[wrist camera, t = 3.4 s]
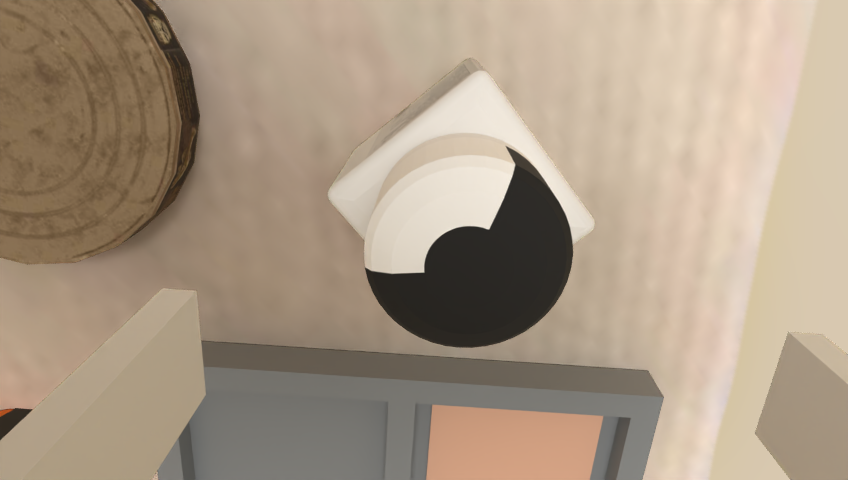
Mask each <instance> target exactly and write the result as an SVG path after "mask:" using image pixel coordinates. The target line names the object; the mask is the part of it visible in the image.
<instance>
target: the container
mask: <svg viewBox="0 0 848 480" xmlns="http://www.w3.org/2000/svg"><path fill="white" fill-rule="evenodd" d="M328 199H329V201H330V202H331V203H332V204H333V206H334V207H335V208H336V209H337V210H338V211H339V212H340V213H341V215H342V216H343V217H344V218H345V219H346V220H347V221H348V223H349V224H350V225H351V226H352V227H353V228H354V229H355V231H356V232H357V233H358V234H359V235H360V236H361V237H362V238H363V240H364V241H365V244H364V262H365V270H366V274H367V278H368V281H369V284H370V286H371V289H372V291H373V293H374V295H375V297H376V298H377V300H378V302H379V304H380V305H381V306H382V307H383V309H384V310H385V311H386V312H387V314H388V315H389V316H390V317H391V318H392V319H393V320H394V321H396V322H397V323H398V324H399V325H400V326H402V327H403V328H405V329H406V330H407V331H409V332H411V333H413V334H414V335H416V336H418V337H420V338H422V339H425V340H428V341H430V342H433V343H437V344H441V345H445V346H452V347H470V348H473V347H481V346H488V345H492V344H496V343H500V342H503V341H506V340H508V339H511V338H513V337H515V336H517V335H519V334H521V333H523V332H525V331H526V330H528V329H529V328H531V327H532V326H533V325H535V324H536V323H537V322H538V321H539V320H541V319H542V318H543V317H544V316H545V315H546V314H547V313H548V312H549V310H550V309H551V308H552V307H553V306H554V304H555V303H556V301H557V300H558V298H559V297H560V295H561V294H562V291H563V289H564V287H565V285H566V283H567V280H568V277H569V273H570V270H571V265H572V257H573V244H574V243H576V242H577V241H579V240H580V239H582V238H583V237H585V236H586V235H588V234H589V233H591V231H592V230H593V229H594V226H595V222H594V219H593V217H592V216H591V214H590V213H589V212H588V210H587V209H586V207H585V206H584V205H583V203H582V202H581V200H580V199H579V198H578V196H577V195H576V194H575V192H574V191H573V189H572V188H571V187H570V185H569V184H568V182H567V181H566V180H565V178H564V177H563V176H562V174H561V173H560V171H559V170H558V169H557V167H556V166H555V164H554V163H553V162H552V160H551V159H550V158H549V156H548V155H547V153H546V152H545V151H544V149H543V148H542V146H541V145H540V144H539V142H538V141H537V140H536V138H535V137H534V135H533V134H532V133H531V131H530V130H529V128H528V127H527V126H526V124H525V123H524V122H523V120H522V119H521V117H520V116H519V115H518V113H517V112H516V110H515V109H514V108H513V106H512V105H511V104H510V102H509V101H508V99H507V98H506V97H505V95H504V94H503V92H502V91H501V90H500V88H499V87H498V85H497V84H496V83H495V81H494V80H493V79H492V77H491V76H490V74H489V73H488V72H487V71H486V70H485V69H484V68H483V67H482V66H481V65H480V64H479V63H478V62H477V61H476V60H475V59H472V58H469V59H466V60H465V61H463V62H462V63H461V64H460V65H458V66H457V67H456V68H455V69H454V70H452V71H451V72H450V73H449V74H447V75H446V76H445V77H444V78H442V79H441V80H440V81H439V82H437V83H436V84H435V85H434V86H432V87H431V88H430V89H429V90H428V91H426V92H425V93H424V94H423V95H421V96H420V97H419V98H418V99H416V100H415V101H414V102H413V103H411V104H410V105H409V106H408V107H407V108H405V109H404V110H403V111H402V112H400V113H399V114H398V115H397V116H395V117H394V118H393V119H392V120H390V121H389V122H388V123H387V124H385V125H384V126H383V127H382V128H381V129H379V130H378V131H377V132H376V133H374V134H373V135H372V136H371V137H369V138H368V139H367V140H366V141H364V142H363V143H362V144H361V145H359V146H358V147H357V148H356V149H355V150H354V151H353V153H352V154H351V156H350V157H349V159H348V160H347V162H346V164H345V165H344V167H343V168H342V170H341V171H340V173H339V174H338V176H337V178H336V179H335V181H334V182H333V184H332V185H331V187H330V188H329V190H328Z"/></svg>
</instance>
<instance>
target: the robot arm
mask: <svg viewBox="0 0 848 480" xmlns="http://www.w3.org/2000/svg"><path fill="white" fill-rule="evenodd" d="M205 395H206V390H205V379H204V367H203V356H202V344H201V333H200V321H199V310H198V298H197V291H195V290H180V289H166V288H162V289H161V290H160V291H159V292H158V293H157V294H156V295H155V296H154V297H153V298H152V299H151V300H149V301H148V302H147V303H146V304H145V305H144V306H143V307H142V308H141V309H140V310H139V311H138V312H137V313H136V314H135V315H133V316H132V317H131V318H130V319H129V320H128V321H127V322H126V323H125V324H124V325H123V326H122V327H121V328H120V329H119V330H117V331H116V332H115V333H114V334H113V335H112V336H111V337H110V338H109V339H108V340H107V341H106V342H105V343H104V344H103V345H101V346H100V347H99V348H98V349H97V350H96V351H95V352H94V353H93V354H92V355H91V356H90V357H89V358H88V359H87V360H85V361H84V362H83V363H82V364H81V365H80V366H79V367H78V368H77V369H76V370H75V371H74V372H73V373H72V374H71V375H69V376H68V377H67V378H66V379H65V380H64V381H63V382H62V383H61V384H60V385H59V386H58V387H57V388H56V389H55V390H53V391H52V392H51V393H50V394H49V395H48V396H47V397H46V398H45V399H44V400H43V401H42V402H41V403H40V404H39V405H37V406H36V407H35V408H34V409H19V408H15V409H14V410H12V411H10V412H8V413H6V414H4V415H3V416H1V417H0V480H152V478H153V476H154V475H155V473H156V472H157V470H158V469H159V467H160V466H161V464H162V462H163V461H164V459H165V458H166V456H167V455H168V453H169V451H170V450H171V448H172V447H173V445H174V444H175V442H176V441H177V439H178V437H179V436H180V434H181V433H182V431H183V430H184V428H185V426H186V425H187V423H188V422H189V420H190V419H191V417H192V416H193V414H194V412H195V411H196V409H197V408H198V406H199V405H200V403H201V401H202V400H203V398H204V397H205ZM755 434H756V436H757V437H758V438H759V439H760V441H761V442H762V443H763V445H764V446H765V447H766V449H767V450H768V451H769V452H770V454H771V455H772V456H773V458H774V459H775V460H776V461H777V463H778V464H779V465H780V467H781V468H782V469H783V470H784V472H785V473H786V474H787V476H788V477H789V478H790V480H848V354H847V353H846V352H844V351H843V350H842V349H841V348H839V347H838V346H837V345H836V344H834V343H833V342H832V341H830V340H829V339H828V338H827V337H826V336H824V335H823V334H811V333H796V332H788V334H787V338H786V340H785V343H784V346H783V350H782V353H781V355H780V358H779V362H778V365H777V368H776V371H775V374H774V377H773V380H772V383H771V386H770V389H769V392H768V395H767V398H766V401H765V404H764V407H763V410H762V413H761V416H760V419H759V422H758V425H757V428H756V431H755Z"/></svg>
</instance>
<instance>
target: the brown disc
mask: <svg viewBox="0 0 848 480" xmlns="http://www.w3.org/2000/svg"><path fill="white" fill-rule="evenodd" d="M199 118H200V114H199V109H198V103H197V98H196V93H195V88H194V83H193V77H192V72H191V67H190V63H189V61H188V59H187V57H186V55H185V53H184V51H183V49H182V47H181V45H180V43H179V41H178V39H177V37H176V35H175V33H174V31H173V29H172V27H171V25H170V23H169V21H168V19H167V17H166V16H165V14H164V12H163V11H162V10H161V9H160V7H159V6H158V5H157V4H156V3H155V2H154V1H153V0H0V258H4V259H8V260H12V261H16V262H20V263H24V264H49V263H75V262H78V261H81V260H83V259H86V258H89V257H91V256H94V255H96V254H99V253H102V252H104V251H107V250H110V249H112V248H115V247H117V246H119V245H120V244H122V243H123V242H125V241H126V240H127V239H129V238H130V237H132V236H133V235H135V234H136V233H137V232H139V231H140V230H142V229H143V228H144V227H145V226H147V225H148V224H149V223H150V222H151V221H152V220H153V219H154V218H156V217H157V216H158V215H159V214H160V213H161V212H162V211H163V210H165V209H166V208H167V207H168V206H169V205H170V204H171V203H172V202H174V201H175V199H176V197H177V195H178V193H179V191H180V189H181V187H182V185H183V183H184V181H185V179H186V177H187V175H188V173H189V171H190V169H191V167H192V165H193V163H194V159H195V150H196V142H197V134H198V126H199Z"/></svg>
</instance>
